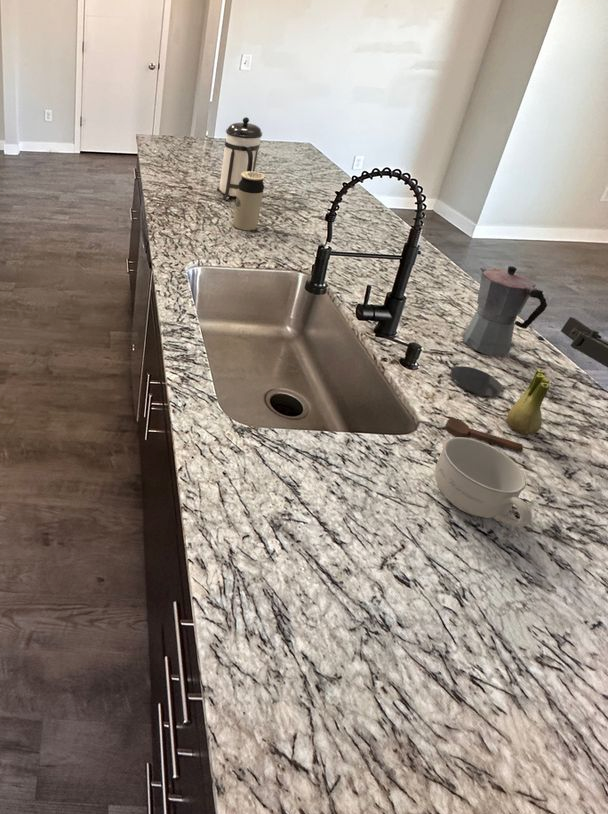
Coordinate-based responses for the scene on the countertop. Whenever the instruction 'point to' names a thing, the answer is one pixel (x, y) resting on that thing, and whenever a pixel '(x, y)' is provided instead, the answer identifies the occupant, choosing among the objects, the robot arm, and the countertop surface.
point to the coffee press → (239, 155)
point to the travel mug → (248, 200)
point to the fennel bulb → (529, 406)
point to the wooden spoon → (479, 435)
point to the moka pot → (500, 310)
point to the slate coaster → (476, 381)
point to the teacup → (481, 480)
